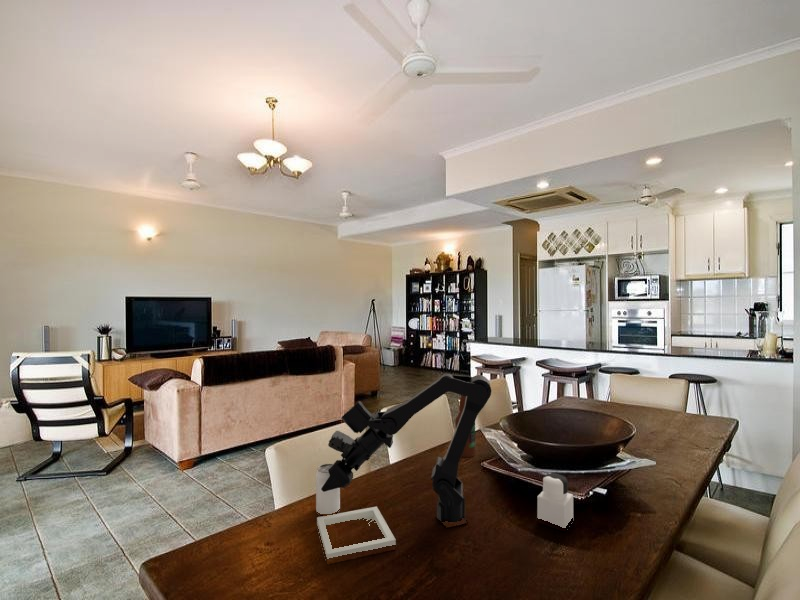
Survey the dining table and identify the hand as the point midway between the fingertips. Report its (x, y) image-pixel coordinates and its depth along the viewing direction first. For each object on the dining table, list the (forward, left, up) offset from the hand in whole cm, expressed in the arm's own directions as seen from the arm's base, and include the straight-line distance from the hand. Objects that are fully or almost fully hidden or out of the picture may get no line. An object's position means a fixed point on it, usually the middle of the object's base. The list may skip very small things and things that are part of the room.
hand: (328, 482), depth 114 cm
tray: (-4, +15, -8) cm, 17 cm away
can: (0, 0, -8) cm, 8 cm away
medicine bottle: (-55, +26, -8) cm, 61 cm away
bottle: (-55, -23, -8) cm, 60 cm away
